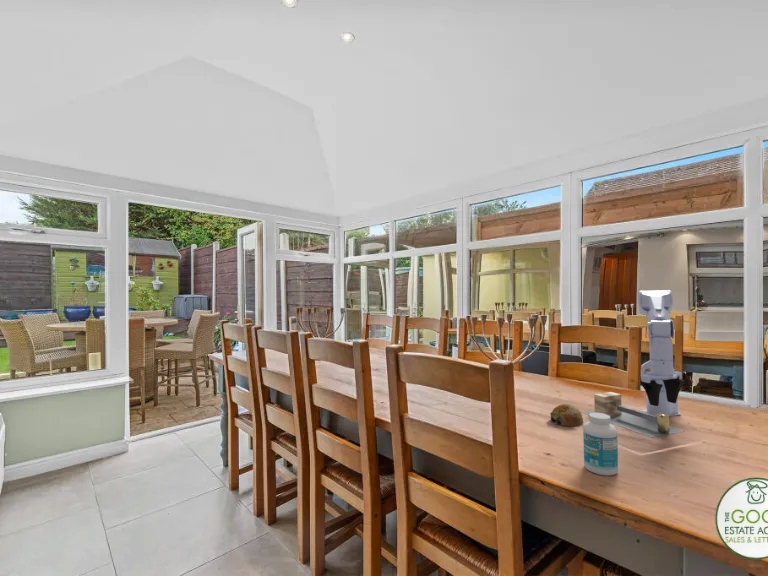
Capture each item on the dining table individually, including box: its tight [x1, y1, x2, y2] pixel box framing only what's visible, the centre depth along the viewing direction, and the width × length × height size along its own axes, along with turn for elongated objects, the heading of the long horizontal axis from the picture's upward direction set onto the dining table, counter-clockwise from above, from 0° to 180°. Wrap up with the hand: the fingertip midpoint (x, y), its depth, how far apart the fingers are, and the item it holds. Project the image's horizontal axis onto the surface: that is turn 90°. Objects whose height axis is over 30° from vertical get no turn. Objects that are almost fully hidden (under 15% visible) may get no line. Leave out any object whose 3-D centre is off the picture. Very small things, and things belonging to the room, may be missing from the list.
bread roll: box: [550, 403, 584, 428], centre depth 129 cm, size 10×10×8 cm
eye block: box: [593, 391, 623, 416], centre depth 135 cm, size 8×4×7 cm, turn 109°
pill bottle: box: [582, 413, 619, 476], centre depth 95 cm, size 8×7×14 cm
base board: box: [580, 409, 686, 439], centre depth 127 cm, size 14×26×1 cm, turn 19°
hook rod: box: [617, 405, 670, 433], centre depth 123 cm, size 3×16×5 cm, turn 18°
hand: (663, 403), depth 117 cm, fingers open, 7 cm apart
